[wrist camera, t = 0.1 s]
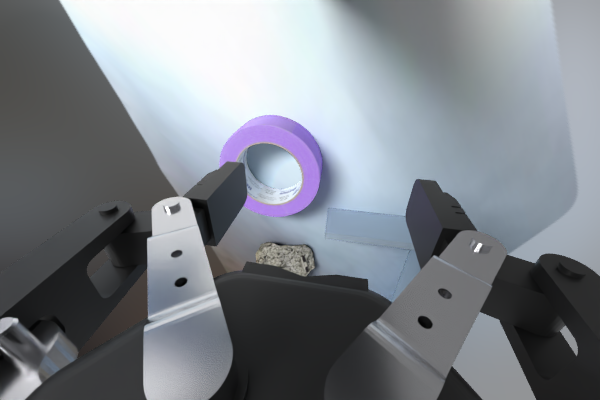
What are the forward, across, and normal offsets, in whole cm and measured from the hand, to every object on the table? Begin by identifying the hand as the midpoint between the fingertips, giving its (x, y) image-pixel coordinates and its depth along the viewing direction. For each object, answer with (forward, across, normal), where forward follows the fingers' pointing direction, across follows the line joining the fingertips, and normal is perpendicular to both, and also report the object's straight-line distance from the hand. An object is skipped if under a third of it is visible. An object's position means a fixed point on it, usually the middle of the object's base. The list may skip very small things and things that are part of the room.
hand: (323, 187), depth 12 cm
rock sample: (+18, +6, +23) cm, 30 cm away
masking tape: (+18, +7, +7) cm, 20 cm away
